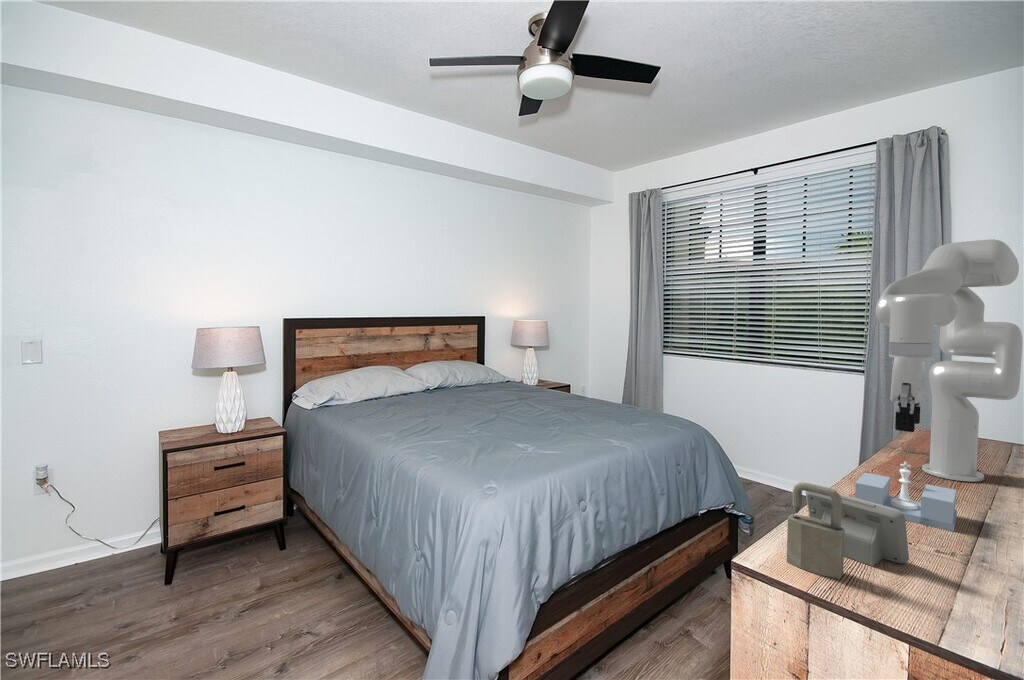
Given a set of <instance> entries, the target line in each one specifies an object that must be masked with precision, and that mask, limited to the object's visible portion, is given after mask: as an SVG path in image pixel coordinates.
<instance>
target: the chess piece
mask: <svg viewBox="0 0 1024 680" xmlns="http://www.w3.org/2000/svg"><path fill="white" fill-rule="evenodd" d="M900 467H902V468H900V469H899V473H900V475H901V478H900V479H898V482H900V483H901V487H900V492H899V495H898V496H897V498H893V499H891V502H890V503H891V504H892V505H893V506H896V507H899V508H903V509H908V510H916V509H918V504H917V503H915V502H913V501H914V500H912V499H911V498H910V494H909V487H908V486H909V484H911V483H912V481H911V480H910V479H909V478H910V475H911V473H912V471H911V470H910V469H908V468H911V467H912V465H911V464H908V462H907V461H904V462H903V463H900Z"/></svg>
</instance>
